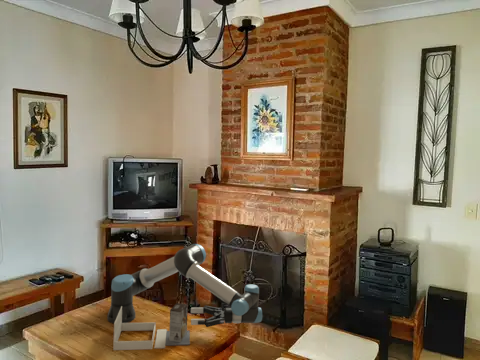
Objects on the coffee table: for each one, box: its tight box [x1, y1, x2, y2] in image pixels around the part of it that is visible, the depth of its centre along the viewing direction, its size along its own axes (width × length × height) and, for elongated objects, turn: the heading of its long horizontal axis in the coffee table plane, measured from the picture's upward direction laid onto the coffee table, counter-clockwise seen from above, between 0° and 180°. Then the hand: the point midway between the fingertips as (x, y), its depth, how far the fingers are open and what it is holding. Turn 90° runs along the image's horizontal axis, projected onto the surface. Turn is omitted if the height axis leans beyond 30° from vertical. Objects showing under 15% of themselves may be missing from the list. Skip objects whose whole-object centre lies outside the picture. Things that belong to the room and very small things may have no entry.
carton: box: [112, 306, 168, 351], centre depth 188 cm, size 20×24×13 cm
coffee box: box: [169, 302, 189, 342], centre depth 190 cm, size 9×6×16 cm
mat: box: [165, 330, 191, 347], centre depth 191 cm, size 14×12×1 cm
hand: (190, 316), depth 190 cm, fingers open, 13 cm apart
